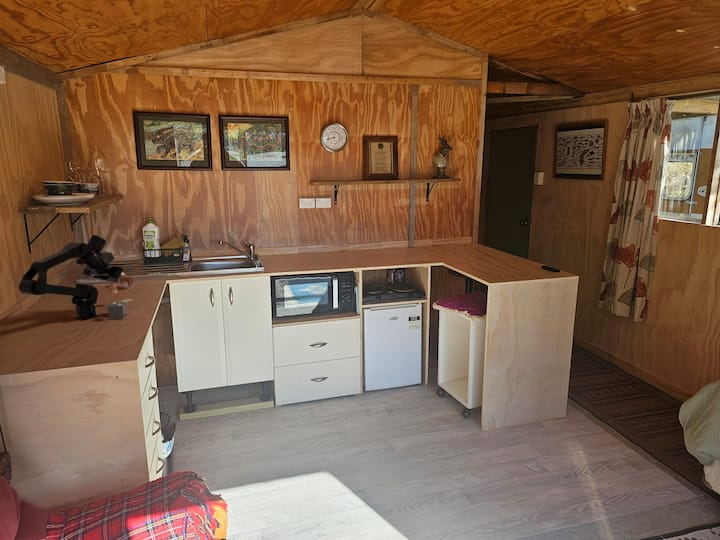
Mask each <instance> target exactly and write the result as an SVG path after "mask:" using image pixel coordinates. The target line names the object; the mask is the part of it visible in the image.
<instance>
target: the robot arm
mask: <svg viewBox="0 0 720 540" xmlns="http://www.w3.org/2000/svg"><path fill="white" fill-rule="evenodd" d="M106 245H107V240H106V239H105V238H102V237H100V236H98V235H97V234H92V235H91V236H90V239H89V240H88V242H87V243H85V242H78V241H77V242H76V241H70V242H68V243H67V244H66V245H65V246H64V247H63V248H62V249H61V250H60V251H57V252H55V253H52V254H50V255H48V256H45V257H44V258H41V259H39V260H36V261H33V262H31V264H30V265H31V266H30V268H28V270H27V271H26V272H25V273H24V274H23V276H22V278H21V281H20V283H19V285H18V289H19V292H20V293H21V294H25V295H33V296H42V295H44V296H45V295H48V294H53V295H60V296H61V295H62V296H63V295H64V296H72V298H71V303H72V304H73V305H75V311H76V312H75V313H76V315H75V316H74V318H75V319H78V320H80V321H84V320H85V321H86V320H89V319H93V318H96V317H97V318H98V315H96V314H97V312H96V310H97V309H96V305H95V304H97V303H98V297H99V290H98V288H97V287H95V285H92V284H87V283H86V284H85V283H75V285H74V286H68V285H67V286H66V285H64V286H63V285H56V284H50V283H47V281H48V274H47V273H48V270H50V269H52V268H54V267H56V266H58V265H60V264H63V263H65V262H67V261H69V260H73V259H76V263H75V265H79V266H80V265H81V266H83V265H85V267H84V269H83V270H82V275H83V276H84V277H86V278H91V277H92V276H93V279H98V280H101V281H104V282H108V280H110V281H113V282H116V284H117V283H118V282H119V277H120V275H121V273H122V272H123V273H124V268H123V267H122V266H121V265H113V266H111V264H110V263H112V261H115V256H114V254H113V252H109V251H108V252H107V251H106V252H105V251H104V252H102V251H103V250H104V248H105V246H106ZM36 275H37V276H38V277H37V279H34V278H35V277H36Z"/></svg>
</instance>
